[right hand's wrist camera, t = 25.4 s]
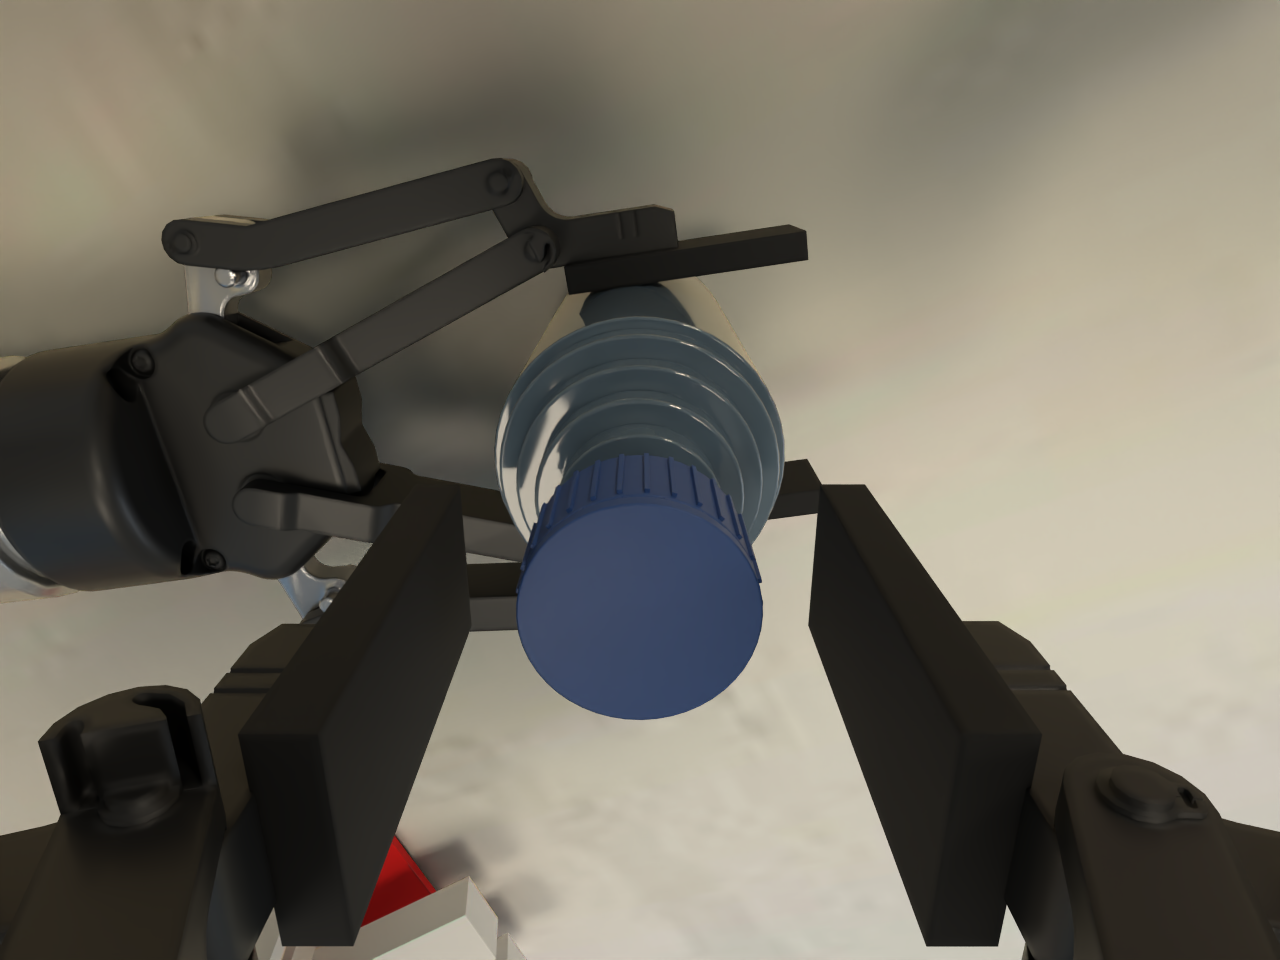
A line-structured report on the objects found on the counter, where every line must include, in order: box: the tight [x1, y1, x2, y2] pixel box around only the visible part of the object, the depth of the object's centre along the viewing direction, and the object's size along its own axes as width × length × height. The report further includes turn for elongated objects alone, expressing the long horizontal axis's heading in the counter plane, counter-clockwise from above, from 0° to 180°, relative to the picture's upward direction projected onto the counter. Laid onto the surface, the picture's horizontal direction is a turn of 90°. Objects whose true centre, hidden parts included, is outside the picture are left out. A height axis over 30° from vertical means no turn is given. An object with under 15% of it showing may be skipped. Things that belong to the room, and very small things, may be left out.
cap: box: [516, 453, 763, 720], centre depth 13 cm, size 4×4×2 cm
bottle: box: [494, 277, 785, 545], centre depth 22 cm, size 7×7×19 cm
